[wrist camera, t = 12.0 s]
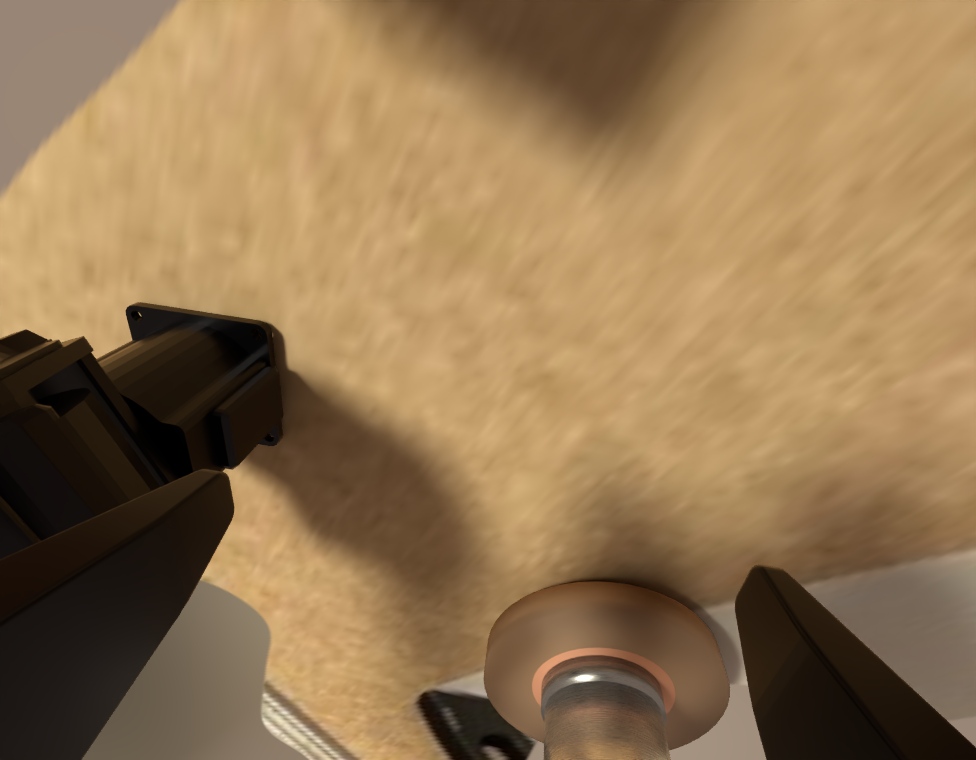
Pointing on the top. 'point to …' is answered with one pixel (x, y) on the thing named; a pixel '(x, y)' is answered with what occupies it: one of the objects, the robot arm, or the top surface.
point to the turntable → (606, 652)
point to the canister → (602, 711)
